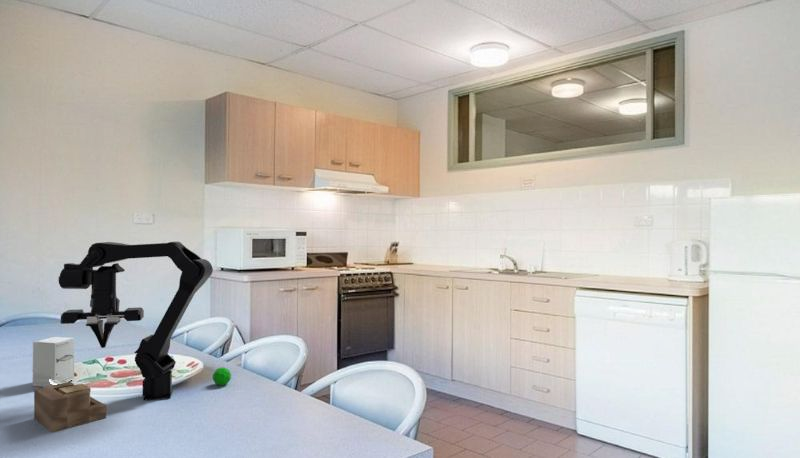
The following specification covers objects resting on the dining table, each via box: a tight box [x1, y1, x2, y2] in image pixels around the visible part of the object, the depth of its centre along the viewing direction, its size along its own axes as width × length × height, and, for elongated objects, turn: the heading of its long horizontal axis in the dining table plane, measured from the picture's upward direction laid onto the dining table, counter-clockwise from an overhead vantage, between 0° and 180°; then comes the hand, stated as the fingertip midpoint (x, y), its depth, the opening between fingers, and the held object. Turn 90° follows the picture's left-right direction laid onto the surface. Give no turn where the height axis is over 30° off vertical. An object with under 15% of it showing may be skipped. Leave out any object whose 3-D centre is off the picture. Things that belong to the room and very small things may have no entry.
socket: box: [33, 381, 107, 433], centre depth 125 cm, size 11×12×7 cm
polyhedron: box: [212, 367, 232, 387], centre depth 151 cm, size 5×5×5 cm
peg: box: [59, 383, 91, 406], centre depth 125 cm, size 5×5×7 cm
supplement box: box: [32, 336, 75, 388], centre depth 151 cm, size 7×7×13 cm
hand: (103, 347), depth 140 cm, fingers closed
